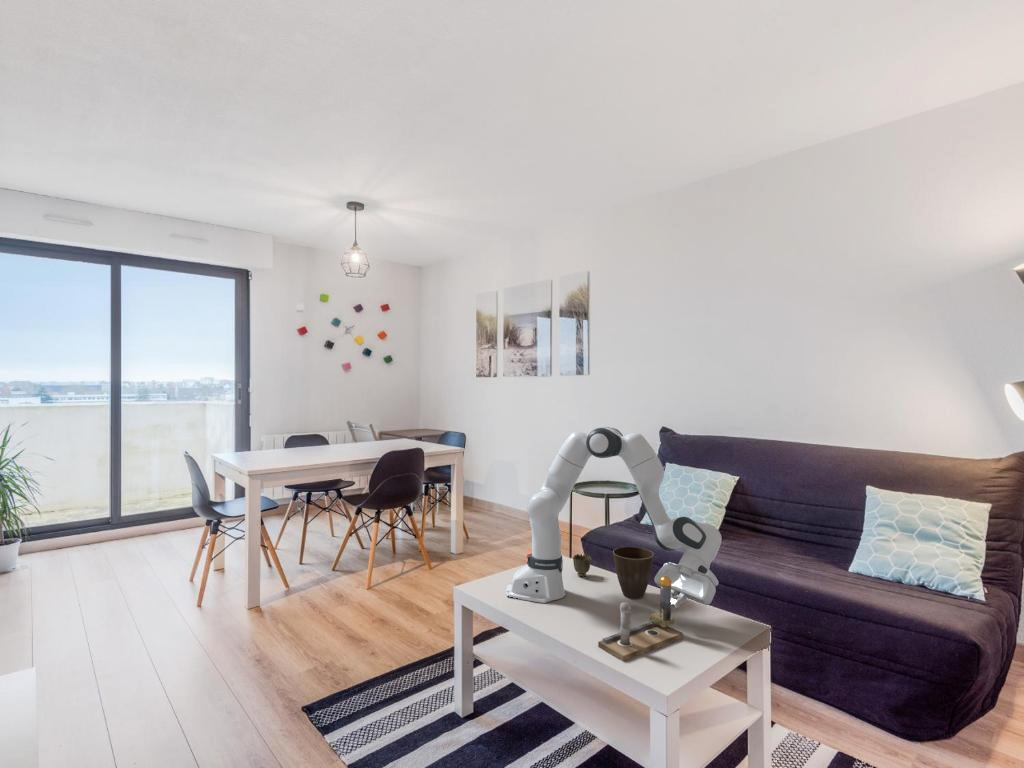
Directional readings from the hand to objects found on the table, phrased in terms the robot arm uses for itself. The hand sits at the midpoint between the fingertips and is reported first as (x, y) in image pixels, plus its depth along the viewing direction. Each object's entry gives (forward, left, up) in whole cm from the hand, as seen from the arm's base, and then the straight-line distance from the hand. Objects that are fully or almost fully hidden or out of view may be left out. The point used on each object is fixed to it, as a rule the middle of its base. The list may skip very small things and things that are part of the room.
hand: (672, 605), depth 163 cm
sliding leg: (-3, -2, -6) cm, 7 cm away
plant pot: (-11, +27, -8) cm, 30 cm away
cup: (-31, +44, -8) cm, 54 cm away
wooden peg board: (-10, -10, -8) cm, 16 cm away
